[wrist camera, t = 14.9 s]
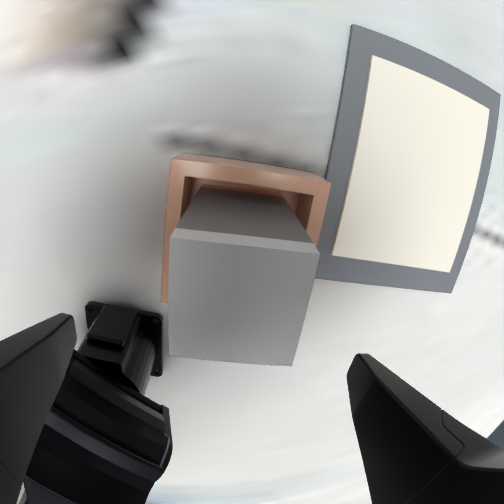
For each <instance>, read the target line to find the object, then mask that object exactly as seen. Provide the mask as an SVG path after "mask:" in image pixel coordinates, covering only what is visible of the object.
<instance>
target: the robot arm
mask: <svg viewBox="0 0 504 504" xmlns="http://www.w3.org/2000/svg"><path fill="white" fill-rule="evenodd" d="M90 307H92V308H93V310H92V309H91V308H90ZM85 312H86V320H87V327H88V332H87V333H86V337H85V339H84V340H83V342H82V343H81V345H80V347H79V348H78V350H77V351H76V350H74V347H75V345H76V341H77V335H76V329H75V322H74V318H73V316H72V315H69V314H65V313H60V314H57V315H55V316H53V317H51V318H49V319H47V320H44V321H42V322H40V323H38V324H36V325H34V326H31V327H29V328H27V329H25V330H23V331H21V332H18V333H16V334H14V335H12V336H10V337H8V338H6V339H4V340H1V341H0V504H16V503H17V500H18V497H19V493H20V490H21V486H22V483H23V482H24V488H25V491H24V493H23V495H22V498H21V500H20V502H19V504H145V502H146V499H147V497H148V494H149V492H150V490H151V488H152V487H153V485H154V483H155V482H156V481H157V480H158V479H159V478H160V477H161V476H162V474H163V473H164V471H165V470H166V468H167V466H168V464H169V461H170V458H171V455H172V448H173V446H172V435H171V426H170V416H169V408H167V407H165V406H163V405H159V404H157V403H156V402H154V401H152V400H150V399H149V398H147V397H145V396H144V395H145V391H146V388H147V384H148V381H149V377H150V375H151V376H156V377H159V376H161V375H162V372H163V318H162V316H161V315H160V314H157V313H151V312H145V311H139V310H135V309H131V308H125V307H120V306H114V305H109V304H101V303H95V302H88V303H87V305H86V306H85ZM154 319H157V320H158V321H155V320H154ZM157 371H158V372H157ZM347 384H348V391H349V398H350V405H351V412H352V418H353V422H354V426H355V430H356V435H357V439H358V443H359V447H360V451H361V455H362V460H363V464H364V468H365V473H366V477H367V482H368V486H369V491H370V496H371V500H372V504H504V447H501V446H498V445H496V444H494V443H493V442H491V441H489V440H487V439H486V438H485V437H483V436H481V435H480V434H478V433H476V432H475V431H473V430H471V429H470V428H468V427H467V426H465V425H464V424H462V423H461V422H459V421H458V420H456V419H455V418H453V417H452V416H451V415H449V414H448V413H447V412H445V411H444V410H441V408H440V407H439V406H437V405H436V404H435V403H433V402H432V401H430V400H429V399H428V398H426V397H425V396H424V395H422V394H421V393H420V392H418V391H417V390H416V389H414V388H413V387H412V386H410V385H409V384H408V383H406V382H405V381H404V380H402V379H401V378H400V377H398V376H397V375H396V374H394V373H393V372H392V371H390V370H389V369H388V368H387V367H385V366H384V365H383V364H381V363H380V362H379V361H377V360H376V359H375V358H373V357H372V356H371V355H369V354H360V353H359V354H356V355H355V357H354V359H353V361H352V363H351V366H350V368H349V370H348V372H347Z"/></svg>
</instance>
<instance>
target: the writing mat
mask: <svg viewBox="0 0 504 504" xmlns="http://www.w3.org/2000/svg"><path fill="white" fill-rule="evenodd" d="M499 106H500V94H499V93H497V92H496V91H494V90H493V89H491V88H490V87H488V86H486V85H485V84H483V83H482V82H480V81H478V80H477V79H475V78H473V77H472V76H470V75H468V74H466V73H465V72H463V71H461V70H459V69H457V68H456V67H454V66H452V65H450V64H448V63H446V62H444V61H442V60H440V59H438V58H436V57H434V56H432V55H430V54H428V53H426V52H424V51H422V50H419V49H417V48H415V47H413V46H410V45H408V44H406V43H403V42H401V41H399V40H396V39H394V38H391V37H389V36H386V35H383V34H381V33H378V32H375V31H373V30H370V29H367V28H364V27H361V26H358V25H355V24H353V25H351V31H350V39H349V46H348V53H347V59H346V66H345V72H344V79H343V85H342V91H341V97H340V103H339V108H338V114H337V120H336V125H335V130H334V136H333V141H332V146H331V151H330V156H329V161H328V166H327V171H326V176H325V180H326V181H328V182H330V183H331V187H330V192H329V196H328V201H327V205H326V210H325V214H324V218H323V223H322V227H321V231H320V235H319V240H318V244H317V250H318V251H319V253H320V256H319V261H318V265H317V269H316V274H315V278H317V279H326V280H334V281H343V282H351V283H360V284H369V285H378V286H387V287H396V288H405V289H415V290H424V291H434V292H444V293H452V290H453V288H454V285H455V283H456V280H457V278H458V275H459V272H460V270H461V267H462V264H463V261H464V259H465V256H466V253H467V250H468V247H469V244H470V241H471V238H472V235H473V232H474V228H475V225H476V222H477V218H478V215H479V211H480V207H481V204H482V200H483V196H484V192H485V188H486V184H487V179H488V175H489V170H490V165H491V160H492V155H493V149H494V143H495V137H496V130H497V123H498V115H499Z"/></svg>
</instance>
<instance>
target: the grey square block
mask: <svg viewBox="0 0 504 504" xmlns="http://www.w3.org/2000/svg"><path fill="white" fill-rule="evenodd" d="M319 256H320V253H319V251H318V250H317V248H316V247H315V245H314V243H313V242H312V240H311V239H310V237H309V235H308V234H307V232H306V231H305V229H304V227H303V226H302V224H301V223H300V221H299V219H298V218H297V216H296V215H295V213H294V212H293V210H292V209H291V207H290V205H289V204H288V202H287V201H286V199H285V198H284V196H283V195H282V193H275V192H268V191H260V190H252V189H244V188H235V187H226V186H217V185H207V184H202V185H201V187H200V188H199V190H198V192H197V193H196V195H195V196H194V198H193V200H192V201H191V203H190V205H189V206H188V208H187V210H186V211H185V213H184V214H183V216H182V218H181V219H180V221H179V223H178V224H177V226H176V228H175V230H174V231H173V233H172V235H171V236H170V245H169V279H168V342H169V355H170V356H178V357H186V358H194V359H203V360H213V361H223V362H235V363H248V364H263V365H282V366H292V363H293V359H294V356H295V352H296V348H297V345H298V341H299V337H300V334H301V330H302V326H303V322H304V318H305V314H306V311H307V307H308V303H309V299H310V294H311V290H312V286H313V282H314V278H315V274H316V269H317V265H318V261H319Z"/></svg>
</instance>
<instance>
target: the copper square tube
mask: <svg viewBox="0 0 504 504" xmlns="http://www.w3.org/2000/svg"><path fill="white" fill-rule="evenodd" d="M202 184H207V185H217V186H226V187H235V188H244V189H252V190H260V191H268V192H275V193H282V195H283V196H284V198H285V199H286V201H287V202H288V204H289V205H290V207H291V209H292V210H293V212H294V213H295V215H296V216H297V218H298V219H299V221H300V223H301V224H302V226H303V227H304V229H305V231H306V232H307V234H308V235H309V237H310V239H311V240H312V242H313V243H314V245H315V247H316V248H317V244H318V240H319V235H320V231H321V227H322V223H323V218H324V214H325V210H326V205H327V201H328V196H329V192H330V187H331V183H330V182H328V181H326V180H325V179H323V178H322V177H320V176H318V175H317V174H315V173H312V172H307V171H302V170H297V169H291V168H286V167H280V166H274V165H268V164H262V163H256V162H249V161H243V160H236V159H229V158H221V157H214V156H206V155H198V154H189V153H183V154H181V155H179V156H176V157H174V158H172V159H171V166H170V175H169V184H168V194H167V205H166V217H165V230H164V245H163V262H162V285H161V302H167V303H168V279H169V245H170V236H171V235H172V233H173V231H174V230H175V228H176V226H177V224H178V223H179V221H180V219H181V218H182V216H183V214H184V213H185V211H186V210H187V208H188V206H189V205H190V203H191V201H192V200H193V198H194V196H195V195H196V193H197V192H198V190H199V188H200V187H201V185H202Z"/></svg>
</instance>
